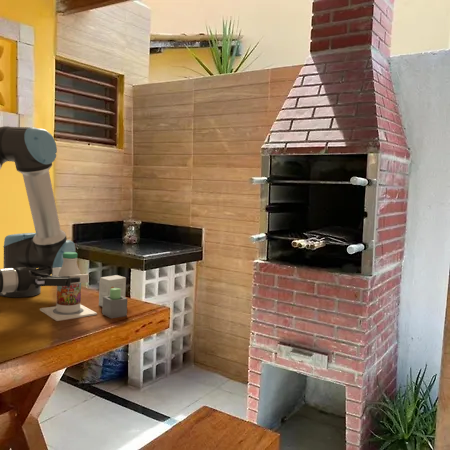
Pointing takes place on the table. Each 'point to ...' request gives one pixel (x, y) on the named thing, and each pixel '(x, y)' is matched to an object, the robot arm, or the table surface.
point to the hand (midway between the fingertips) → (78, 274)
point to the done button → (115, 293)
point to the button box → (114, 307)
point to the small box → (111, 286)
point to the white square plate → (63, 316)
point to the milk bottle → (69, 295)
